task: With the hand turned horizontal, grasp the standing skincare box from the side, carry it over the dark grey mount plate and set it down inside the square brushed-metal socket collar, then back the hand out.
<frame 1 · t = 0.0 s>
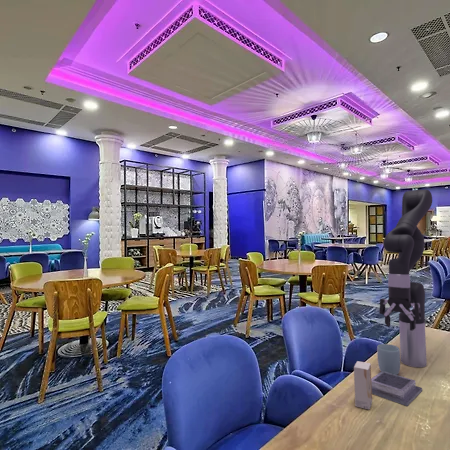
hand: (399, 328, 123), 17 cm above the table, tool pointing down, fingers open, 8 cm apart
skincare box: (363, 404, 102), on the table
cup: (389, 374, 123), on the table
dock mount: (392, 390, 110), on the table
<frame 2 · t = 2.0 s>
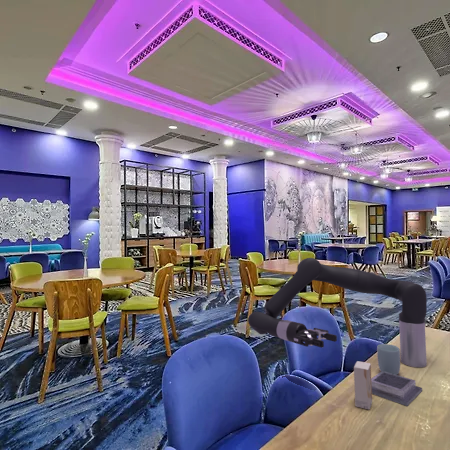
hand: (329, 341, 111), 17 cm above the table, tool horizontal, fingers open, 8 cm apart
nothing on the table moved.
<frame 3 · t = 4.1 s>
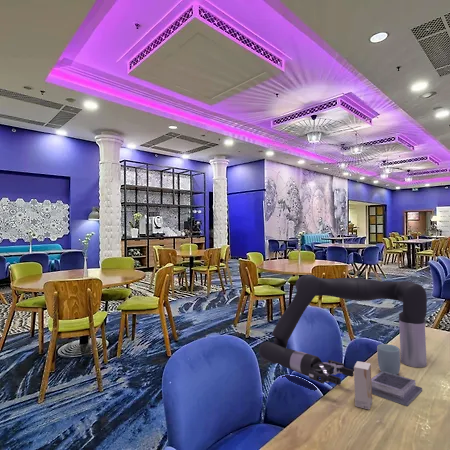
hand: (346, 377, 106), 6 cm above the table, tool horizontal, fingers open, 8 cm apart
nothing on the table moved.
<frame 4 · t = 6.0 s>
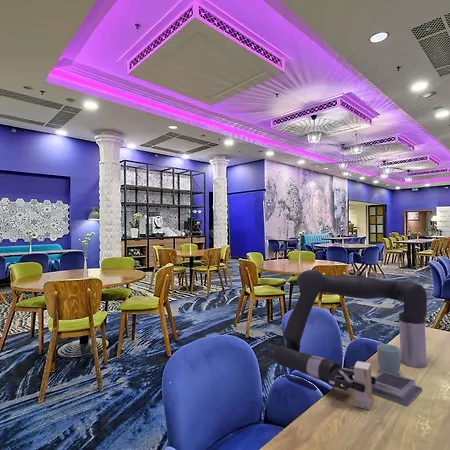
hand: (370, 384, 100), 7 cm above the table, tool horizontal, fingers closed on skincare box, 7 cm apart
skincare box: (363, 404, 102), on the table, touching gripper
everything else where it was.
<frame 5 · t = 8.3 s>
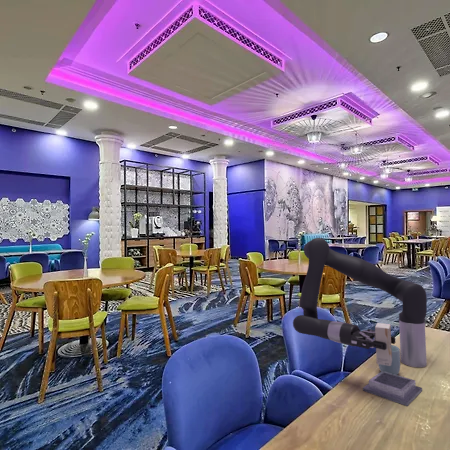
hand: (390, 343, 106), 18 cm above the table, tool horizontal, fingers closed on skincare box, 7 cm apart
skincare box: (384, 362, 107), point 11 cm above the table, touching gripper
everything else where it was.
when the fingers open (8 cm above the table, at t = 11.0 s): skincare box stays where it is, resting on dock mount.
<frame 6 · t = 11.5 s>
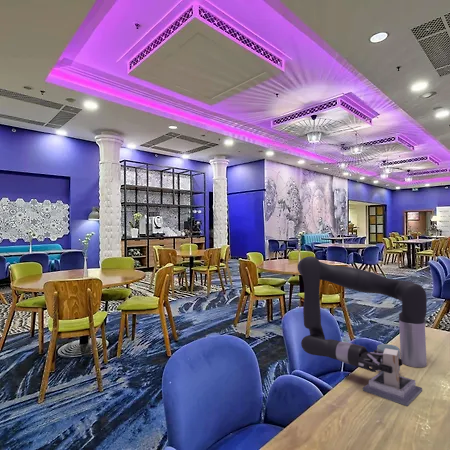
hand: (397, 366, 108), 9 cm above the table, tool horizontal, fingers open, 8 cm apart
skincare box: (392, 388, 110), point 1 cm above the table, touching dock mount
everything else where it was.
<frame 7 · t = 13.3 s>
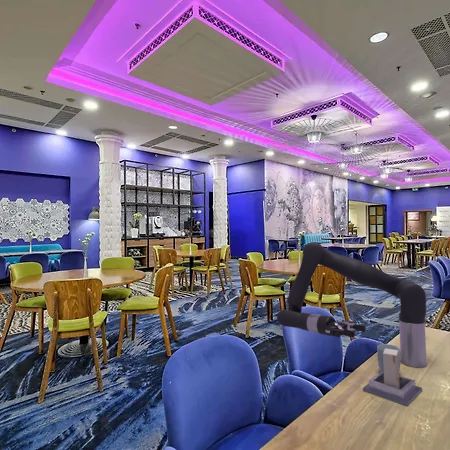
hand: (359, 331, 118), 18 cm above the table, tool horizontal, fingers open, 8 cm apart
nothing on the table moved.
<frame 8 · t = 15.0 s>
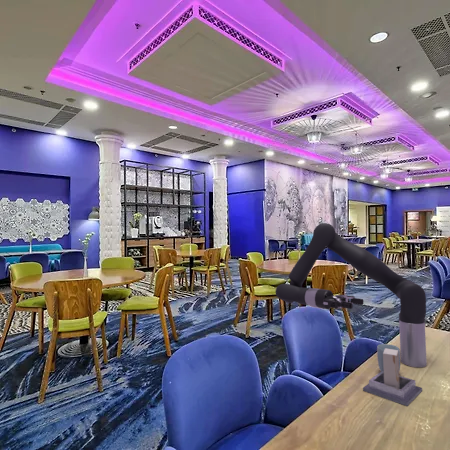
hand: (357, 303, 119), 28 cm above the table, tool horizontal, fingers open, 8 cm apart
nothing on the table moved.
at the end: skincare box inside the target area on the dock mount (0.3 cm from its centre), point 0.8 cm above the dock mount's base; skincare box tilted 0°; the gripper is holding nothing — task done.
